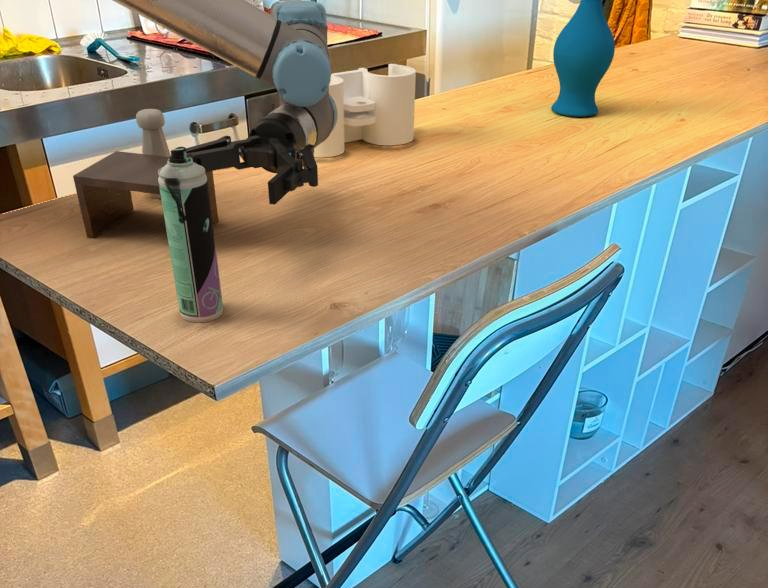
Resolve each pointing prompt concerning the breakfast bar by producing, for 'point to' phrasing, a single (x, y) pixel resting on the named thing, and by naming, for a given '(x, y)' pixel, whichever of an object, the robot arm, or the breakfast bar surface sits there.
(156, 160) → the shelf
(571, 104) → the vase
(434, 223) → the breakfast bar surface
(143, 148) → the salt shaker
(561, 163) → the breakfast bar surface
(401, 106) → the bracket
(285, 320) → the breakfast bar surface
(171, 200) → the spray can
